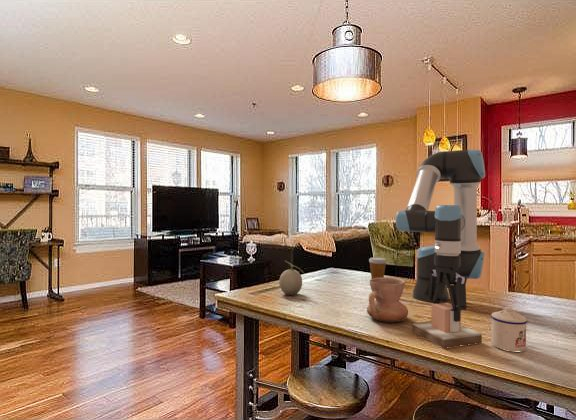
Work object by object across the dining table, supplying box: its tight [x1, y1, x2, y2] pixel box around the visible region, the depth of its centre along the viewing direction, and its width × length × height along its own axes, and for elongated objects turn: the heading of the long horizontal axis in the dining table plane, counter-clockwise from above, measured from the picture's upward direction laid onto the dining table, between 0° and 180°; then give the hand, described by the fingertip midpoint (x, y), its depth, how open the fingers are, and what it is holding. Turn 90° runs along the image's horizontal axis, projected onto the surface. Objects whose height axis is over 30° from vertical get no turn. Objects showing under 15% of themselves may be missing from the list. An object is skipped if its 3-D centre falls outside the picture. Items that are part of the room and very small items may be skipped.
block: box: [430, 302, 462, 332], centre depth 111 cm, size 6×6×7 cm
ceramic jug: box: [366, 276, 409, 323], centre depth 129 cm, size 18×14×14 cm
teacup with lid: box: [490, 306, 528, 352], centre depth 105 cm, size 12×9×12 cm
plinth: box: [412, 320, 483, 349], centre depth 112 cm, size 14×14×3 cm
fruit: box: [278, 260, 305, 296], centre depth 163 cm, size 10×12×15 cm
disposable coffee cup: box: [368, 256, 387, 279], centre depth 195 cm, size 10×10×12 cm
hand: (446, 327), depth 111 cm, fingers open, 6 cm apart
